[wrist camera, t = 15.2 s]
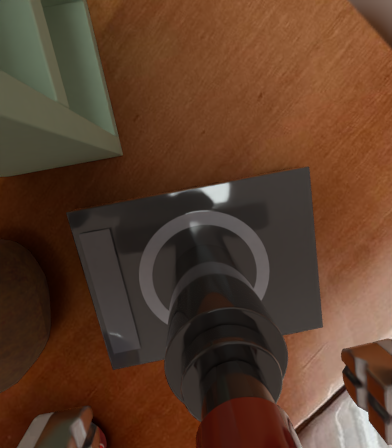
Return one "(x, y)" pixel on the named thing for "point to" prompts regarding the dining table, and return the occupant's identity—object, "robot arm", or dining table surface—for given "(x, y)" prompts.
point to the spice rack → (51, 88)
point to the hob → (192, 236)
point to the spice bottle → (225, 354)
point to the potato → (21, 312)
